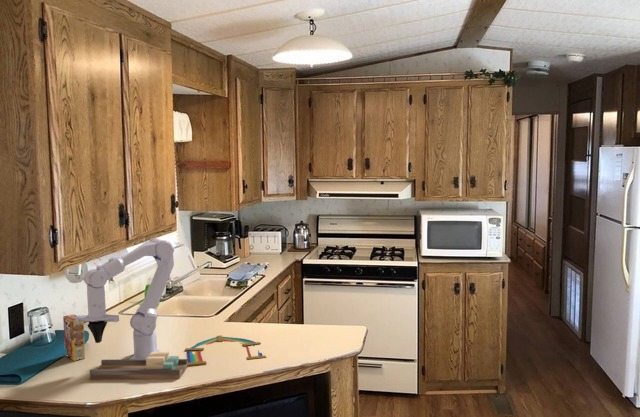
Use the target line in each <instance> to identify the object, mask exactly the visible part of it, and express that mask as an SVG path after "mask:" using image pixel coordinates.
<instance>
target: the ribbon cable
mask: <svg viewBox="0 0 640 417" xmlns="http://www.w3.org/2000/svg"><path fill="white" fill-rule="evenodd" d="M216 342H218V343H224V342H229V343H240V345H242V347H244V348H246V351H247V354H248V356H247V357H246V360H247V361H249V360H258V359H267V356H266V355H263V353H262V352H260V351H259V349H258V350H257V351H258V352H257V355H255V356H252V355H251V352H250V348H249V346H253V347H255V346H256V345H261V344H262V343H261V342H260V341H254V340H250V339H246V338H241V337H240V338H239V337H233V336H231V337H229V336H222V335H216V337H215V336H214V337H212V338H209V339H206V340H203V341H200V342H197V343H195V345H193V346H191V347H187V348H186V347H185V349H184V352H186V355H187V356H186V357H187V367H195V366H204V365H207V361H206V360H205V361H204V360H203V357H202V352H203V351H204V350H205V348H204V347H200V346H204V345H206V346H208V345H211V344H213V343H216ZM193 351H194V353H193Z"/></svg>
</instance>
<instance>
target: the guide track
mask: <svg viewBox="0 0 640 417" xmlns="http://www.w3.org/2000/svg"><path fill="white" fill-rule="evenodd" d="M187 363H188V358H179V355H169V358H168V359H167V360H166V361H165V363H164V364H163V369H146V359H130V358H129V359H128V358H127V359H126V358H125V359H102V360H100V365H99V366H98V367H97V368H96V369H93V368H92V369H90V370H89V379H90V380H164V379H165V380H169V379H170V380H172V379H173V380H176V379H178V380H179V379H181V377H182V376H183V375H184V373H185V372H186V370H187V369H188V366H187Z"/></svg>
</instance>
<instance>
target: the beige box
mask: <svg viewBox="0 0 640 417" xmlns="http://www.w3.org/2000/svg"><path fill="white" fill-rule="evenodd" d="M169 357H170V351H159V352H151V353H150V355H149V356H148V357H147V358H146V369H163V364H164V363H165V361H166V360H167V359H168V358H169Z"/></svg>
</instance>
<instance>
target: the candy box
mask: <svg viewBox="0 0 640 417" xmlns="http://www.w3.org/2000/svg"><path fill="white" fill-rule="evenodd" d="M77 316H78V315H76V314H73V313H72V314H67V315H63V316H62V320H63V340H64V341H63V343H64V344H65V345H66V348H67V353H68V354H67V355H68V357H70V358H71V359H70V358H69V359H70V360H72V361H74V362H75V361H80V360H84V359H85V358H86V352H85V350H86V349H85V322H79V323H76V318H75V317H77ZM65 345H64V346H65ZM68 357H67V358H68ZM79 359H80V360H79Z"/></svg>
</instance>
